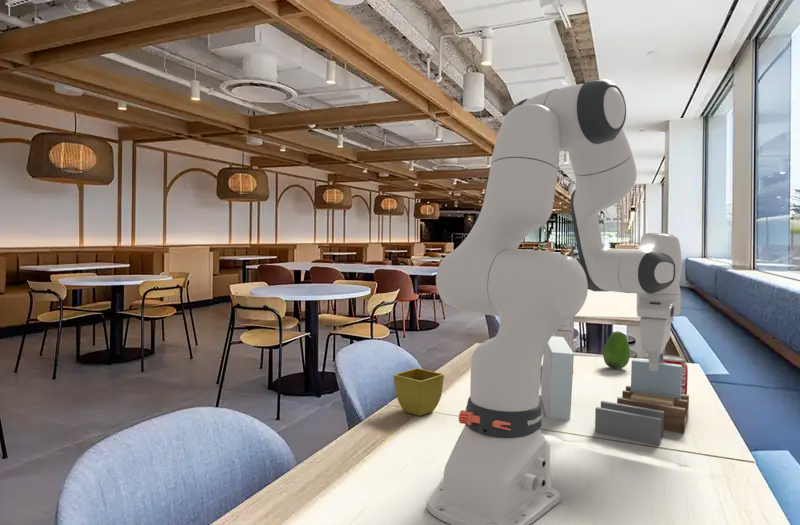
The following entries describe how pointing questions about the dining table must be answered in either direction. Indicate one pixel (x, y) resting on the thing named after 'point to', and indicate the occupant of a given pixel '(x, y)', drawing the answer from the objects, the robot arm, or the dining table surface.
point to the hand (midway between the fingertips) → (656, 365)
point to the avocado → (616, 351)
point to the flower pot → (418, 390)
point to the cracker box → (566, 332)
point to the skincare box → (557, 378)
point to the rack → (672, 414)
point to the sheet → (656, 379)
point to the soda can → (684, 376)
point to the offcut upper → (653, 398)
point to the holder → (629, 422)
